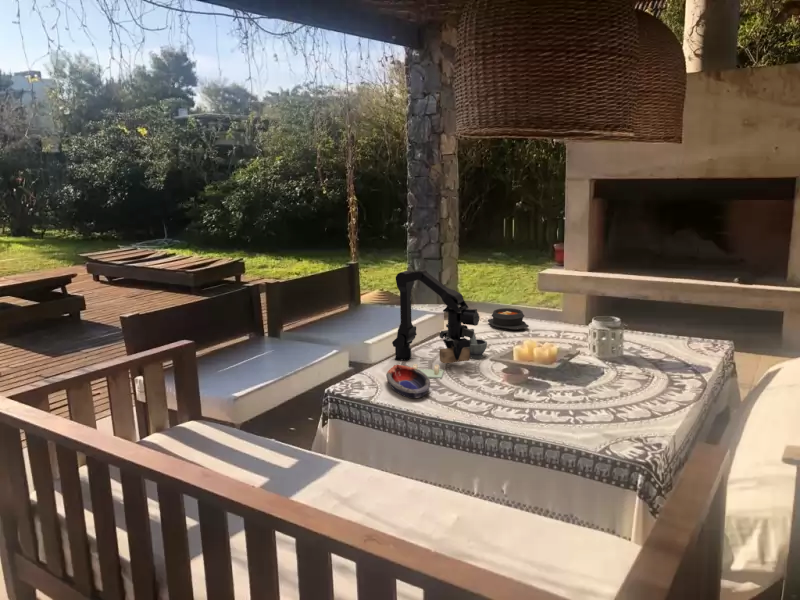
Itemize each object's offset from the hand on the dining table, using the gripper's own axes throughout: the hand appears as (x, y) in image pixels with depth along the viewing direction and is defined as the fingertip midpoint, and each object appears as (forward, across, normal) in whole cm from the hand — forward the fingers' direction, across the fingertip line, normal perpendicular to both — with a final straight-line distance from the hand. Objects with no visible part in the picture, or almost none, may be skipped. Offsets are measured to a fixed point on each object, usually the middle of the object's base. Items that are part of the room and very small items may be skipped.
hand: (454, 358), depth 276 cm
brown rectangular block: (+1, 0, 0) cm, 1 cm away
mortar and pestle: (+4, +10, -15) cm, 18 cm away
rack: (+4, -4, +15) cm, 16 cm away
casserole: (+4, +49, -54) cm, 73 cm away
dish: (+4, -15, +27) cm, 32 cm away
